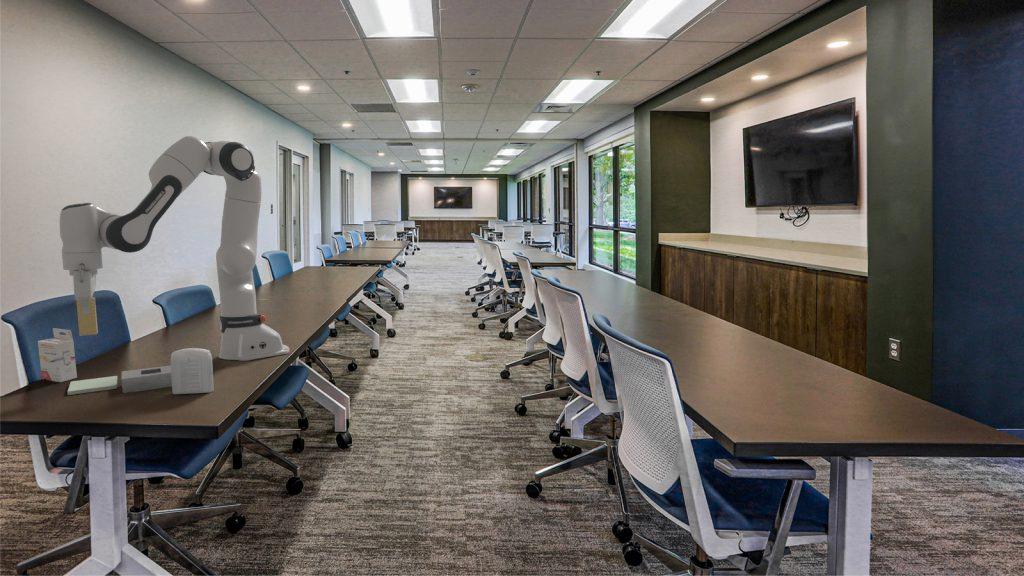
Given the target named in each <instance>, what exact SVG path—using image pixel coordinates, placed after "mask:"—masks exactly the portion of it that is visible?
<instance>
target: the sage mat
mask: <svg viewBox="0 0 1024 576" xmlns="http://www.w3.org/2000/svg"><path fill="white" fill-rule="evenodd" d="M117 387H118V375H113V376H105V377H104V376H103V377H97V378H89V379H88V378H87V379H81V380H73V381H70V384H69V385H68V389H67V396H71V395H79V394H85V393H93V392H101V391H102V392H103V391H108V390H115V389H117Z"/></svg>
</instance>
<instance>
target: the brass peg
mask: <svg viewBox="0 0 1024 576" xmlns="http://www.w3.org/2000/svg"><path fill="white" fill-rule="evenodd" d="M75 301H76V312H77V313H76V314H77V321H78V322H77V324H78V334H79V336H80V337H82V336H92V335H98V333H99V331H98V321H97V320H98V318H97V305H96V296H92V298H91V299H90V313H89V314H83V313H82V307H81V303H80V300H76V299H75Z"/></svg>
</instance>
